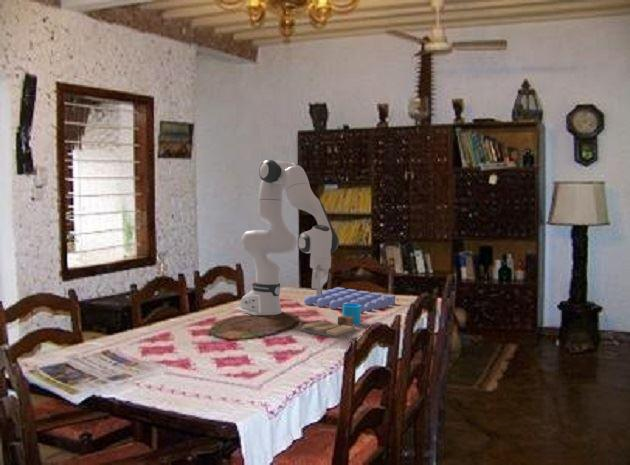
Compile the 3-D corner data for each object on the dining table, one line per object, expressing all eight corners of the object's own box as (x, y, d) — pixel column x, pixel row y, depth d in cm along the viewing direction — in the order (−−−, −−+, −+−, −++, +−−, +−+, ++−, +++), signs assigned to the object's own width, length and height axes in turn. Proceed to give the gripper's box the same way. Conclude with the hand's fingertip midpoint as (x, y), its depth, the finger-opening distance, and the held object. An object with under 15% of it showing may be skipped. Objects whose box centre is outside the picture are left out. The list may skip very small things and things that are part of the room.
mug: (356, 326, 307) (357, 307, 306) (339, 323, 310) (340, 305, 309) (365, 320, 318) (366, 303, 317) (349, 318, 321) (349, 301, 320)
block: (337, 328, 302) (337, 317, 301) (343, 326, 306) (343, 315, 305) (347, 330, 299) (347, 318, 298) (353, 328, 303) (353, 316, 303)
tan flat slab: (302, 327, 294) (303, 324, 293) (318, 322, 304) (318, 319, 304) (325, 332, 288) (325, 329, 288) (339, 327, 298) (339, 324, 298)
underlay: (299, 331, 293) (299, 325, 293) (317, 325, 305) (317, 320, 305) (336, 338, 284) (336, 332, 284) (352, 331, 296) (353, 326, 296)
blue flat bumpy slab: (395, 305, 359) (395, 295, 359) (363, 316, 330) (363, 305, 330) (337, 295, 378) (337, 287, 377) (302, 305, 349) (302, 295, 348)
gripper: (323, 267, 283) (322, 301, 285) (331, 260, 304) (330, 291, 305) (308, 266, 285) (307, 299, 286) (317, 259, 305) (315, 290, 306)
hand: (319, 295), depth 296 cm, fingers closed
